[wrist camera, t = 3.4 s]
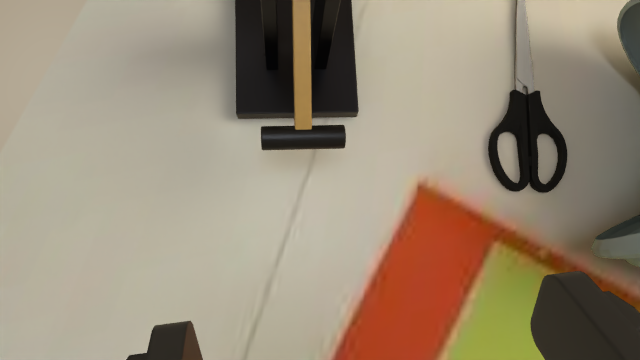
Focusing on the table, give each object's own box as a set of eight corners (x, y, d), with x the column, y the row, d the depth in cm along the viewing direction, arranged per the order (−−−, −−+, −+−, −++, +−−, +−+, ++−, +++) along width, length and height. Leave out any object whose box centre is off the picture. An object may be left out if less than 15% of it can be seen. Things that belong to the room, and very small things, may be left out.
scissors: (478, -20, 42) (489, 191, 38) (483, -26, 42) (494, 189, 38) (547, -14, 43) (564, 194, 39) (552, -20, 42) (571, 192, 38)
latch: (341, 145, 32) (346, 151, 29) (262, 147, 31) (261, 153, 29) (342, -61, 29) (348, -73, 26) (254, -63, 28) (252, -75, 26)
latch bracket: (356, 116, 39) (395, 32, 25) (237, 118, 38) (212, 33, 24) (348, -10, 41) (380, -148, 28) (236, -11, 40) (212, -154, 27)
